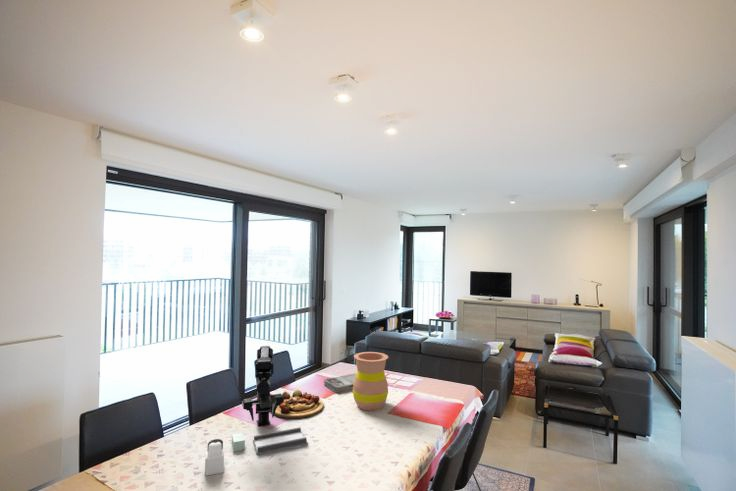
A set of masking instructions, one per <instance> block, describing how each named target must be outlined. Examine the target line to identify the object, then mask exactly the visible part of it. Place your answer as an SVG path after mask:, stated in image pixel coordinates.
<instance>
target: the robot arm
mask: <svg viewBox="0 0 736 491" xmlns="http://www.w3.org/2000/svg"><path fill="white" fill-rule="evenodd" d="M272 359H274V349H273V348H271V347H270V345H261V346H259V348H258V349H257V350H256V360H257V362H256V363H255V371H254V372H255V375H254V376H255V377H254V378H256V379H257V382H256V383H257V384H256V399H253V400H252V398H250V397H248V398H244V399H242V400H241V406H242V408H243V410H246V411H249V414H250V418H251V421H252V422H254V418H255V417H254V408H253V405H255V415H258V416H257V420H256V424H257V426H258V427H262V426H268V425H271V421H270V413H271V418H274V417H275V415H274V414H275V411H276V409H277V407H278V406H279V405H281V403H284V397H283V396H282V394H283V393H275V394H271V377H273V374H274V363H273V361H272Z"/></svg>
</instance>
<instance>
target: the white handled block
mask: <svg viewBox="0 0 736 491" xmlns="http://www.w3.org/2000/svg"><path fill="white" fill-rule="evenodd" d="M204 460H205V462H204V463H205V464H204V467H205V469H204V476H212V475H219V474H222V473H224V467H225V465H224V464H225V448H224V441H223V440H222V439H219V438H216V439H212V440H210V441H208V443H207V450H206V452H205V459H204Z"/></svg>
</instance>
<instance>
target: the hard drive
mask: <svg viewBox="0 0 736 491" xmlns="http://www.w3.org/2000/svg"><path fill="white" fill-rule="evenodd" d="M356 374H357V373H351V374H346V375H342V376H341V375H339V376H335V377H329V378H326V379H323V386H324V387H326V389H329V391H331V392H333V393H334V394H340V393H346V392H349V391H353V382H354V380H355V377H356Z"/></svg>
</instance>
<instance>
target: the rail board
mask: <svg viewBox="0 0 736 491" xmlns="http://www.w3.org/2000/svg"><path fill="white" fill-rule="evenodd" d="M307 439H308V438H307V437H305V436H304V433H303V432H302V430H301V427H296V428H289V429H284V430H279V431H273V432H268V433H262V434H258V435H257V434H256V435H254V436H253V439H252V443H253V447H254V451H255V454H256V456H260V455H264V454H270V453H275V452H279V451H284V450H291V449H293V448H299V447H304V446H307V445H308V440H307Z"/></svg>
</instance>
